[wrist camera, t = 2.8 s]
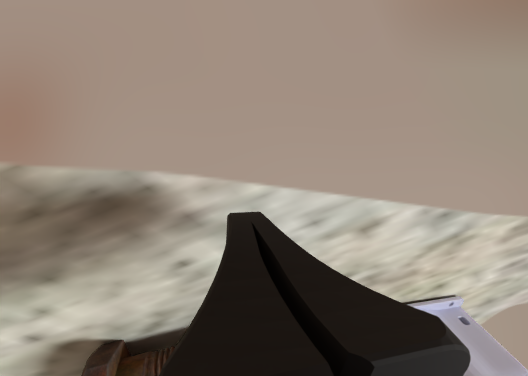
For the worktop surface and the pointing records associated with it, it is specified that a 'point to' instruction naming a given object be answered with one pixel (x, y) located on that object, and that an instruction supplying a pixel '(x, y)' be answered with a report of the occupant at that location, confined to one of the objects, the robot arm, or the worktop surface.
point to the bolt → (125, 361)
